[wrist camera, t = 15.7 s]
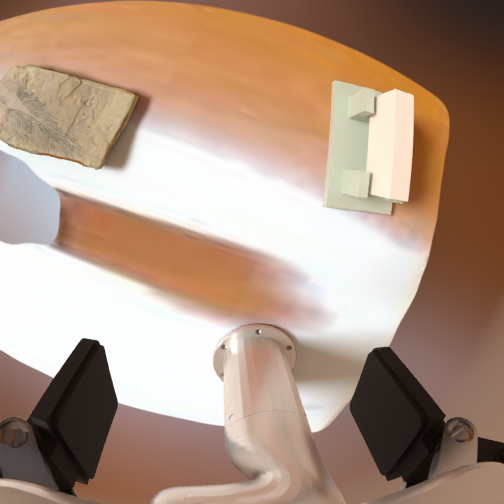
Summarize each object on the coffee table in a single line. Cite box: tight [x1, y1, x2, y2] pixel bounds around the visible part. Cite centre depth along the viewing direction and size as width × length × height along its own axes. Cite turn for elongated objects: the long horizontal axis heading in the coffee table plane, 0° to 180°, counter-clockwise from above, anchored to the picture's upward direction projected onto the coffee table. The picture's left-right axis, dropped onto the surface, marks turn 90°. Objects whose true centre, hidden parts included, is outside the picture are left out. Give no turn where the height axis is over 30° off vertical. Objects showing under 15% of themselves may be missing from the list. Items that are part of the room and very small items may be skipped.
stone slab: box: [0, 66, 139, 170], centre depth 27 cm, size 12×4×30 cm
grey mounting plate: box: [323, 80, 403, 215], centre depth 32 cm, size 17×10×6 cm, turn 175°
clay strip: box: [366, 89, 414, 202], centre depth 28 cm, size 12×2×6 cm, turn 176°
